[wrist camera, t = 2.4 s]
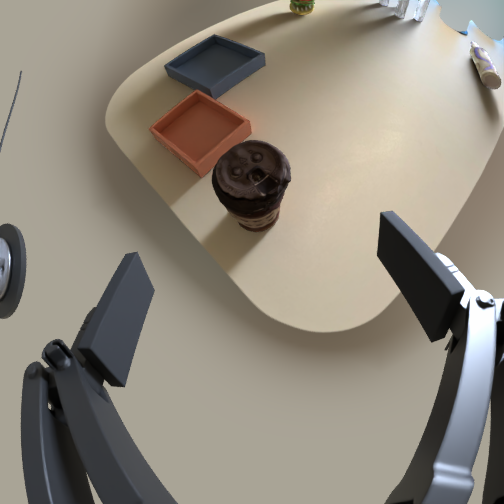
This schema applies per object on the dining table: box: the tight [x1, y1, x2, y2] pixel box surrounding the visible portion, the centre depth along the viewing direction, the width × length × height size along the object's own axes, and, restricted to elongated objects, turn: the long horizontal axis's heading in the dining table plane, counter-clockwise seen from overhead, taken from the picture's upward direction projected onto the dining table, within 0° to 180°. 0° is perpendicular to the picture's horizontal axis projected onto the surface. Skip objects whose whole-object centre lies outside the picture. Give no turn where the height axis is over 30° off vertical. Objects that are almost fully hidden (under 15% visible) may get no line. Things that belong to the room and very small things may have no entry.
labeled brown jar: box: [212, 140, 291, 232], centre depth 32 cm, size 9×8×13 cm
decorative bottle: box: [470, 42, 501, 89], centre depth 40 cm, size 26×8×7 cm, turn 160°
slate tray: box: [164, 34, 265, 99], centre depth 44 cm, size 15×14×3 cm
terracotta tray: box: [149, 89, 252, 178], centre depth 41 cm, size 13×11×3 cm
